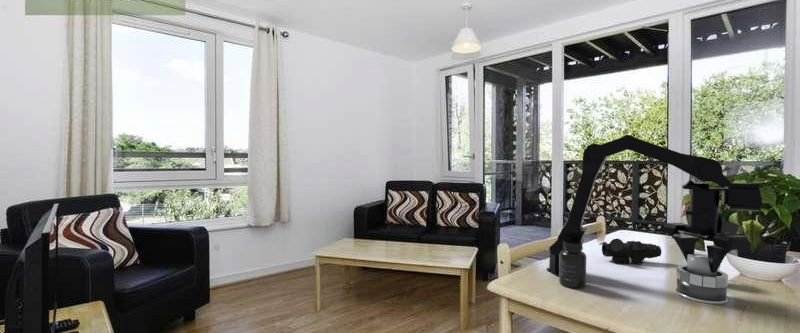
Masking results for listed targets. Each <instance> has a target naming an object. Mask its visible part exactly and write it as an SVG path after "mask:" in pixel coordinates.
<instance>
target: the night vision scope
mask: <svg viewBox="0 0 800 333" xmlns="http://www.w3.org/2000/svg"><path fill="white" fill-rule="evenodd" d="M598 245H599V246H601V252H602V255H603V256H604V257H607V258H608V257H609V258H611V262H612V263H613V264H619V265H620V264H624V265H625V264H631V265H632V264H633V265H634V264H635V265H639V264H640V265H643V264H644V263H645V259H653V258H657V257H661V255H662V248H661V246H660V245H656V244H654V243H653V244H652V243H644V242H642V241H640V240H639V241H637V240H636V241H635V240H628V241H626V242H623V240H621V239H620V238H613V239H612V240H611V241H610V242H609V243H607V241H603V242H600V243H599V244H598Z"/></svg>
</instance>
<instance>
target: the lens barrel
mask: <svg viewBox="0 0 800 333" xmlns="http://www.w3.org/2000/svg"><path fill="white" fill-rule="evenodd" d="M728 286H729V275H728V274H727V273H726V272H724V271H722V270H720V269H719V270H717V275H716V276H704V275H698V274H694V273H691V272H688V271H687V264H686V265H679V266H676V287H675V294H677V295H678V296H680V297H681V298H684V299H687V300H689V301H690V300H691V301H693V302H697V303H701V304H707V305H708V304H709V305H727V303H728V300H729V299H728V297H727V296H728V295H727V294H728Z"/></svg>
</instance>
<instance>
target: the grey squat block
mask: <svg viewBox="0 0 800 333" xmlns="http://www.w3.org/2000/svg"><path fill="white" fill-rule="evenodd" d="M686 265H687V271H688V272H691V273H694V274H698V275H704V276H716V275H717V272H716V273H712V272H711V270H710V266H709V259H708V255H703V254H688V257H687V261H686Z"/></svg>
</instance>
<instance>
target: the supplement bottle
mask: <svg viewBox="0 0 800 333" xmlns="http://www.w3.org/2000/svg"><path fill="white" fill-rule="evenodd" d="M563 248H564V250H562V251H561V252H560V254H559V276H558V281H559V284H560V285H561V286H563V287H565V288H568V289H576V290H577V289H578V290H579V289H580V290H581V289H583V288H585V287H586V285H587V255H586V253H585V252H583V251H584V250H583V249H584V248H583V242H580V241H575V240H565V241H564V242H563Z"/></svg>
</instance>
